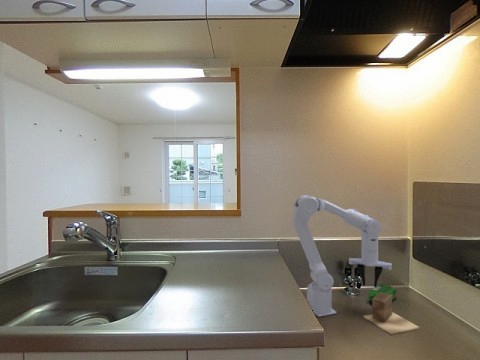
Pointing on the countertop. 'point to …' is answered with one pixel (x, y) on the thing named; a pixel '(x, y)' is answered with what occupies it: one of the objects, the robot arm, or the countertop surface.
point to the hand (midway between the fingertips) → (369, 285)
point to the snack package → (383, 289)
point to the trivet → (393, 324)
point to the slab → (382, 307)
